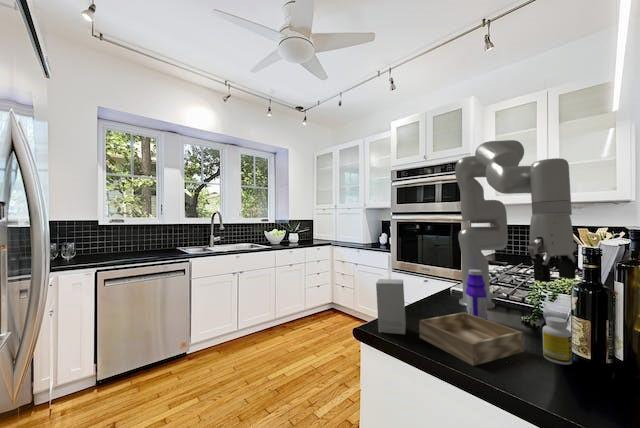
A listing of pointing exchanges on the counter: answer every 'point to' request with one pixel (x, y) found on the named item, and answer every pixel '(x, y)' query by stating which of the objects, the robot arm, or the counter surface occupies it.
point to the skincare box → (391, 306)
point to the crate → (471, 337)
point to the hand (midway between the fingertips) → (555, 279)
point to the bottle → (476, 295)
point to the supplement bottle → (557, 341)
